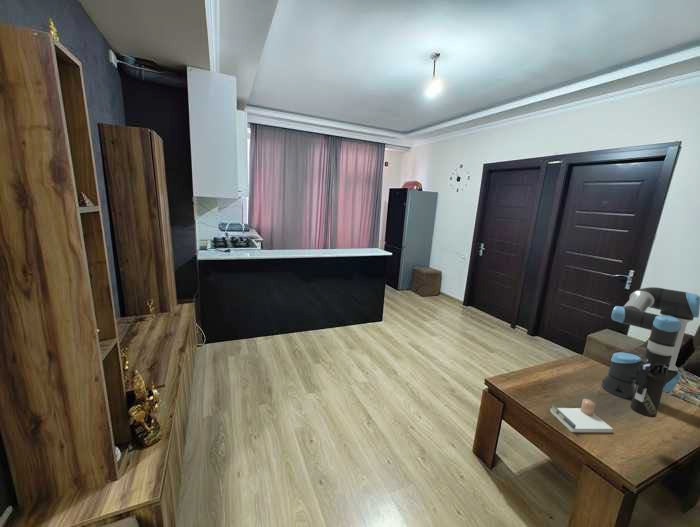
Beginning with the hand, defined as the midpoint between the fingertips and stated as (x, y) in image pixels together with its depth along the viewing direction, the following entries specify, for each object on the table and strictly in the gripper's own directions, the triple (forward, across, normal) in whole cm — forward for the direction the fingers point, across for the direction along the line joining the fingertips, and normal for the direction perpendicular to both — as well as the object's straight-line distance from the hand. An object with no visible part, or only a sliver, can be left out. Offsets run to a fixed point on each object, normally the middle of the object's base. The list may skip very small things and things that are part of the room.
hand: (645, 398), depth 125 cm
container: (+7, 0, 0) cm, 7 cm away
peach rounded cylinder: (+20, +5, -18) cm, 27 cm away
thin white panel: (+22, +12, -15) cm, 30 cm away
